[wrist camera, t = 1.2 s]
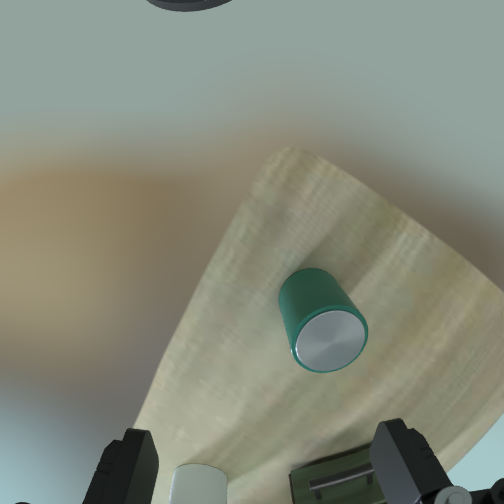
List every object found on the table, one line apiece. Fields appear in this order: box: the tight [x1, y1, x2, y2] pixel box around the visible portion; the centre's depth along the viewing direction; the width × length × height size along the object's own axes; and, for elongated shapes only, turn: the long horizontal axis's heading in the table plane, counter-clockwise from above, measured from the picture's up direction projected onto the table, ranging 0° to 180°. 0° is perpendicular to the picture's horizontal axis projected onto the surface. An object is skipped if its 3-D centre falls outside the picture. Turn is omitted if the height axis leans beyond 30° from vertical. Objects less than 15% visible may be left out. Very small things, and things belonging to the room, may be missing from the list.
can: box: [279, 268, 368, 373], centre depth 22 cm, size 5×5×7 cm
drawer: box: [291, 448, 387, 504], centre depth 28 cm, size 18×11×8 cm, turn 16°
